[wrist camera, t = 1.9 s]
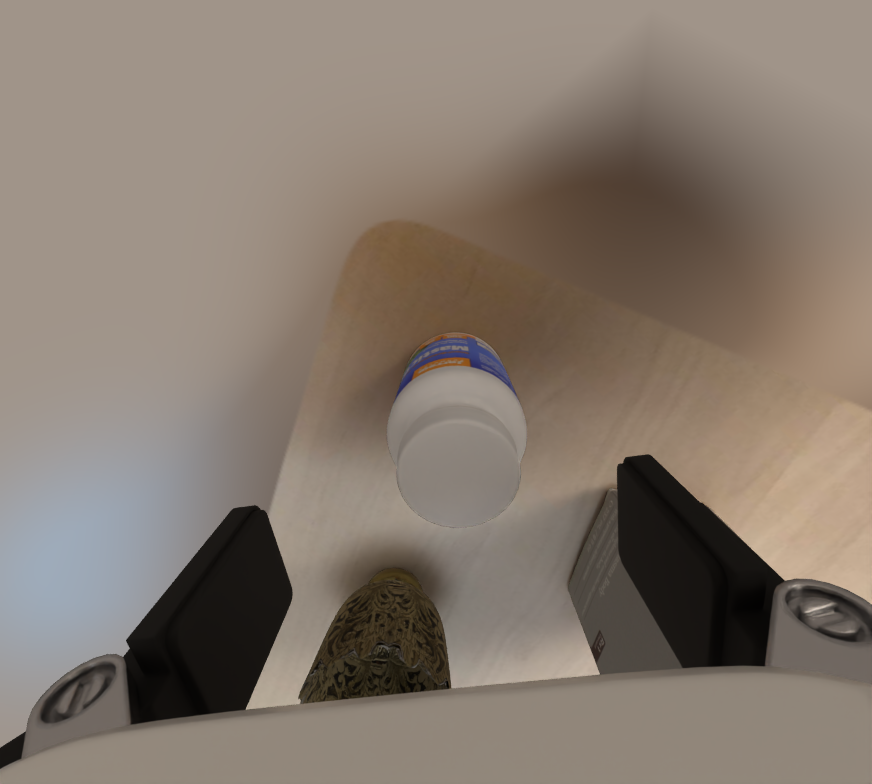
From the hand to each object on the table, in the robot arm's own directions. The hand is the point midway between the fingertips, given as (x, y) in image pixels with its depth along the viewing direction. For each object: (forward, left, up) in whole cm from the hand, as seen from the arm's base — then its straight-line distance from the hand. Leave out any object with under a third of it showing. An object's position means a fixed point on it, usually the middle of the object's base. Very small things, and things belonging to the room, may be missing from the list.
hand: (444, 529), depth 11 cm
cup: (+5, +13, -12) cm, 19 cm away
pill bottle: (0, 0, -12) cm, 12 cm away
